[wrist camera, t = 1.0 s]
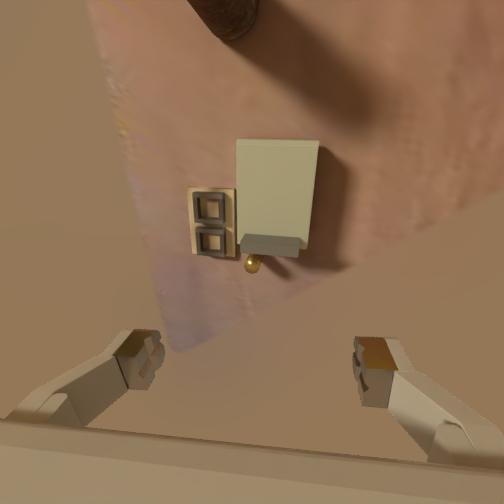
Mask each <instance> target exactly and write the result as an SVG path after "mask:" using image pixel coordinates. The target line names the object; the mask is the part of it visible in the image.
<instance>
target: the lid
mask: <svg viewBox="0 0 504 504" xmlns="http://www.w3.org/2000/svg"><path fill="white" fill-rule="evenodd" d="M318 148H319V140H290V139H236V173H237V244H240V253H249V254H260V255H271V256H283V257H294V258H298V254H299V249H306V250H307V247H308V238H309V229H310V220H311V211H312V202H313V193H314V184H315V175H316V166H317V157H318Z"/></svg>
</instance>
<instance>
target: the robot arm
mask: <svg viewBox="0 0 504 504" xmlns="http://www.w3.org/2000/svg"><path fill="white" fill-rule="evenodd" d="M160 339H161V335H160V332H159V331H157V330H146V329H124V330H123V331H122V332H121V333H120V334H119V335H118V336H117V337H116V338H115V340H114V341H113V342H112V343H111V344H110V345H109V346H108V347H107V349H106V350H105V351H104V352H103V353H102V354H101V355H100V356H99V355H97V356H95V357H93V358H91V359H90V360H88V361H86V362H84V363H82V364H80V365H79V366H77V367H75V368H73V369H71V370H70V371H68V372H66V373H64V374H62V375H61V376H59V377H57V378H55V379H53V380H51V381H49V382H48V383H46V384H44V385H42V386H41V387H39V388H37V389H35V390H34V391H32V393H31V394H29V395H28V396H27V397H26V398H25V399H24V400H23V401H22V402H21V403H20V404H19V405H18V406H17V407H16V408H15V409H14V410H13V411H12V412H11V413H10V414H9V415H8V416H7V417H6V418H5V419H1V418H0V504H504V436H503V435H502V434H501V432H500V431H499V429H498V428H497V427H496V426H494V425H493V424H492V423H491V422H489V421H488V420H486V419H485V418H483V417H482V416H481V415H479V414H478V413H477V412H475V411H474V410H473V409H471V408H470V407H468V406H467V405H466V404H464V403H463V402H461V401H460V400H459V399H457V398H456V397H454V396H453V395H452V394H451V393H449V392H448V391H446V390H445V389H443V388H442V387H441V386H439V385H438V384H437V383H435V382H434V381H433V380H431V379H430V378H428V377H427V376H426V375H424V374H423V373H421V372H416V370H415V368H414V366H413V365H412V363H411V361H410V359H409V357H408V355H407V353H406V351H405V349H404V348H403V346H402V344H401V342H400V340H399V339H398V338H397V337H355V338H354V348H355V352H354V353H353V359H352V362H353V371H354V376H355V379H356V380H357V381H358V392H359V395H360V400H361V403H362V406H368V407H378V408H387V409H388V411H389V412H390V413H391V414H392V415H393V417H394V418H395V419H396V420H397V421H398V422H399V423H400V424H401V425H402V427H403V428H404V429H405V430H406V431H407V432H408V433H409V435H410V436H411V437H412V438H413V439H414V440H415V441H416V442H417V443H418V445H419V446H420V447H421V448H422V449H423V450H424V451H425V453H426V454H427V455H428V459H427V462H415V461H406V460H397V459H388V458H387V459H386V458H378V457H368V456H359V455H349V454H340V453H329V452H320V451H309V450H300V449H291V448H280V447H271V446H261V445H252V444H241V443H232V442H223V441H213V440H204V439H194V438H184V437H175V436H165V435H156V434H146V433H136V432H127V431H117V430H107V429H98V428H88V427H85V426H86V425H88V424H89V423H90V422H91V421H92V420H93V419H95V418H96V417H97V416H98V415H99V414H101V413H102V412H103V411H104V410H105V409H107V408H108V407H109V406H110V405H111V404H113V403H114V402H115V401H116V400H117V399H118V398H120V397H121V396H122V395H123V394H124V393H126V392H127V391H128V389H133V390H148V388H149V386H150V384H151V383H152V381H153V379H154V377H155V373H154V372H155V371H156V370H157V369H159V368H160V367H161V365H162V363H163V361H164V356H165V349H164V346H163V344H162V343H161V342H160V341H159V340H160Z"/></svg>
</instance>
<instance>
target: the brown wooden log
mask: <svg viewBox="0 0 504 504" xmlns="http://www.w3.org/2000/svg"><path fill="white" fill-rule="evenodd" d="M187 1H188V2H189V3H190V5H191V6H192V7H193V9H194V10H195V11H196V13H197V14H198V15H199V17H200V18H201V19H202V21H203V22H204V23H205V24H206V26H207V27H208V28H209V29H210V31H211V32H212V33H213V34H214V35H215V36H216V37H218V38H220V39H222V40H234V39H236V38H237V37H240V36H241V35H243V34H244V33H246V32H247V31H248V30H249V29H250V28H251V27H252V25H253V23H254V21H255V18H256V16H257V11H258V0H187Z"/></svg>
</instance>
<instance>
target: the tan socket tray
mask: <svg viewBox="0 0 504 504" xmlns="http://www.w3.org/2000/svg"><path fill="white" fill-rule="evenodd" d="M187 197H188V208H189V219H190V230H191V241H192V252H193V253H196V254H197V255H204V256H215V257H225V256H229V257H235V256H236V219H235V189H230V188H210V187H187Z"/></svg>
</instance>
